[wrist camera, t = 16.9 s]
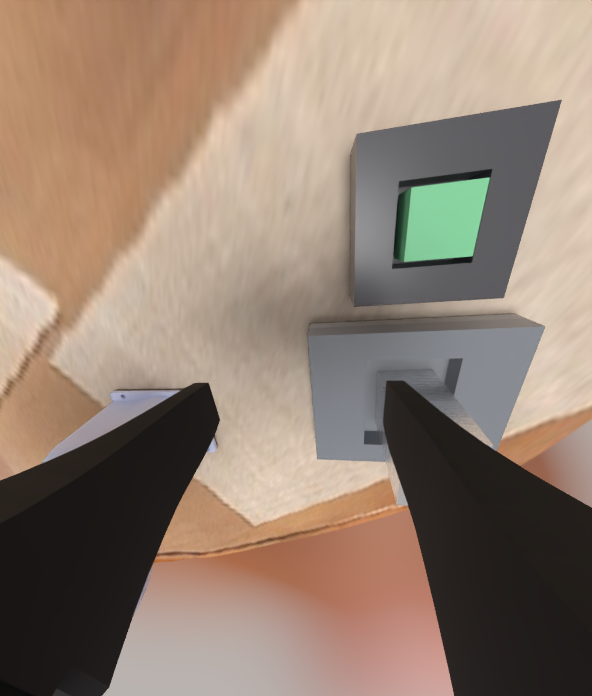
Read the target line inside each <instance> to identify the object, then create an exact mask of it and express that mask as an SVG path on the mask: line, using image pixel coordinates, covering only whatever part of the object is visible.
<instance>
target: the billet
mask: <svg viewBox="0 0 592 696" xmlns="http://www.w3.org/2000/svg"><path fill="white" fill-rule="evenodd" d="M386 381H405V382H406V383H407V384H409V385H410V386H411V387H412V388H413V389H415V390H416V391H417V392H418V393H419V394H421V395H422V396H423V397H424V398H425V399H427V400H428V401H429V402H430V403H431V404H433V405H434V406H435V407H436V408H438V409H439V410H440V411H441V412H443V413H444V414H445V415H446V416H448V417H449V418H450V419H452V420H453V421H454V422H456V423H457V424H458V425H460V426H461V427H462V428H464V429H465V430H466V431H468V432H469V433H471V434H472V435H473V436H475V437H476V438H478V439H479V440H480V441H482V442H483V443H485V444H486V445H488V446H489V447H491V448H493V444H492V443H491V442H490V440H489V439H488V438H487V437H486V435H485V434H484V433H483V432H482V430H481V429H480V428H479V427H478V425H477V424H476V423H475V422H474V420H473V419H472V418H471V417H470V415H469V414H468V413H467V411H466V410H465V409H464V408H463V406H462V405H461V404H460V403H459V401H458V400H457V399H456V398H455V396H454V395H453V394H452V393H451V391H450V390H449V389H448V388H447V386H446V385H445V384H444V383H443V381H442V380H441V379H440V378H439V376H438V375H437V374H436V373H435V371H434V370H433V369H418V370H389V371H377V378H376V403H375V423H376V427H377V431H378V435H379V439H380V442H381V446H382V450H383V454H384V458H385V462H386V465H387V469H388V473H389V477H390V481H391V485H392V488H393V492H394V496H395V500H396V504H397V505H404V506H408V504H407V501H406V498H405V495H404V492H403V489H402V486H401V483H400V481H399V478H398V475H397V472H396V469H395V466H394V463H393V460H392V457H391V454H390V451H389V448H388V444H387V440H386V435H385V430H384V426H383V414H384V403H385V392H386Z"/></svg>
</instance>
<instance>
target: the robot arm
mask: <svg viewBox="0 0 592 696" xmlns="http://www.w3.org/2000/svg"><path fill="white" fill-rule="evenodd" d="M110 397H111V399H112V401H113V402H112V403H110V404H109V405H108V406H107V407H105V408H104V409H103V410H101V411H100V412H99V413H98V414H96V415H95V416H94V417H92V418H91V419H90V420H89V421H87V422H86V423H85V424H83V425H82V426H81V427H80V428H78V429H77V430H76V431H74V432H73V433H72V434H70V435H69V436H68V437H67V438H65V439H64V440H63V441H61V442H60V443H59V444H58V445H57V446H56V447H54V448H53V449H52V450H51V451H50V453H49V454H48V455H47V456H46V458H45V459H44V461H43V462H42V464H40V465H37V466H35V467H33V468H30V469H28V470H26V471H23V472H21V473H19V474H16V475H14V476H11V477H9V478H6V479H3V480H1V481H0V696H102V695H103V694H104V693H105V691H106V690H107V689H108V688H109V686H110V683H111V680H112V677H113V674H114V670H115V667H116V664H117V661H118V658H119V655H120V653H121V650H122V647H123V644H124V641H125V638H126V635H127V632H128V629H129V626H130V623H131V620H132V617H133V616H134V614H135V612H136V610H137V608H138V606H139V604H140V602H141V600H142V598H143V595H144V593H145V591H146V588H147V586H148V582H149V579H150V576H151V571H152V565H153V562H154V560H155V557H156V555H157V552H158V550H159V547H160V545H161V542H162V540H163V538H164V535H165V533H166V531H167V528H168V526H169V524H170V522H171V519H172V517H173V515H174V512H175V510H176V508H177V506H178V504H179V502H180V500H181V498H182V496H183V494H184V492H185V491H186V489H187V487H188V485H189V483H190V481H191V480H192V478H193V476H194V474H195V472H196V470H197V469H198V467H199V465H200V463H201V461H202V459H203V458H204V456H205V454H206V452H215V451H216V450H217V445H216V442H215V439H214V435H215V432H216V430H217V427H218V424H219V421H220V418H219V415H218V412H217V409H216V405H215V402H214V399H213V396H212V392H211V389H210V386H209V383H194V384H192V385H190V386H188V387H186V388H184V389H183V390H144V391H113V392H112V393H110ZM383 426H384V430H385V435H386V440H387V444H388V448H389V451H390V454H391V457H392V460H393V463H394V466H395V469H396V472H397V475H398V478H399V481H400V483H401V486H402V489H403V492H404V495H405V498H406V501H407V504H408V507H409V509H410V512H411V516H412V519H413V522H414V526H415V529H416V533H417V537H418V541H419V545H420V549H421V553H422V557H423V561H424V565H425V569H426V573H427V577H428V581H429V586H430V590H431V594H432V598H433V602H434V606H435V610H436V615H437V620H438V624H439V628H440V633H441V637H442V642H443V646H444V650H445V655H446V660H447V664H448V668H449V673H450V677H451V683H452V687H453V692H454V696H592V508H591V507H589V506H588V505H585V504H584V503H582V502H581V501H579V500H577V499H575V498H573V497H572V496H570V495H568V494H566V493H565V492H563V491H561V490H559V489H558V488H556V487H554V486H552V485H550V484H549V483H547V482H545V481H543V480H542V479H540V478H539V477H537V476H535V475H533V474H532V473H530V472H528V471H527V470H525V469H523V468H522V467H520V466H519V465H517V464H516V463H514V462H513V461H511V460H509V459H508V458H506V457H505V456H503V455H501V454H500V453H498V452H497V451H495V450H494V449H492V448H491V447H489V446H488V445H486V444H485V443H483V442H482V441H480V440H479V439H478V438H476V437H475V436H473V435H472V434H471V433H469V432H468V431H466V430H465V429H464V428H462V427H461V426H460V425H458V424H457V423H456V422H454V421H453V420H452V419H450V418H449V417H448V416H446V415H445V414H444V413H443V412H441V411H440V410H439V409H438V408H436V407H435V406H434V405H433V404H431V403H430V402H429V401H428V400H427V399H425V398H424V397H423V396H422V395H421V394H419V393H418V392H417V391H416V390H415V389H413V388H412V387H411V386H410V385H409V384H407V383H406V382H405V381H386V392H385V403H384V414H383Z"/></svg>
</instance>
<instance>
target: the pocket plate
mask: <svg viewBox="0 0 592 696" xmlns="http://www.w3.org/2000/svg"><path fill="white" fill-rule="evenodd" d="M544 329H545V326H543V325H541V324H538V323H536V322H533V321H531V320H529V319H526V318H524V317H521V316H519V315H517V314H495V315H474V316H454V317H434V318H413V319H393V320H373V321H352V322H332V323H312V324H310V326H309V331H308V349H309V362H310V374H311V387H312V400H313V412H314V425H315V438H316V450H317V459H325V460H351V461H377V462H385V458H384V454H383V450H382V446H381V442H380V439H379V435H378V431H377V427H376V423H375V403H376V378H377V371H389V370H418V369H433V370H434V371H435V373H436V374H437V375H438V376H439V378H440V379H441V380H442V381H443V383H444V384H445V385H446V386H447V388H448V389H449V390H450V391H451V393H452V394H453V395H454V396H455V398H456V399H457V400H458V401H459V403H460V404H461V405H462V406H463V408H464V409H465V410H466V411H467V413H468V414H469V415H470V417H471V418H472V419H473V420H474V422H475V423H476V424H477V425H478V427H479V428H480V429H481V430H482V432H483V433H484V434H485V435H486V437H487V438H488V439H489V440H490V442H491V443H492V444H493V448H492V449H494V450H495V451H497V448H498V446H499V443H500V441H501V438H502V436H503V433H504V431H505V428H506V426H507V423H508V420H509V418H510V415H511V413H512V410H513V408H514V405H515V403H516V400H517V397H518V395H519V392H520V390H521V387H522V385H523V382H524V380H525V377H526V374H527V372H528V369H529V367H530V364H531V362H532V359H533V357H534V354H535V352H536V349H537V346H538V344H539V341H540V339H541V336H542V334H543V331H544Z"/></svg>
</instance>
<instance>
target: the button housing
mask: <svg viewBox="0 0 592 696" xmlns="http://www.w3.org/2000/svg"><path fill="white" fill-rule="evenodd" d="M561 101H562V100H558V101H552V102H546V103H540V104H534V105H528V106H522V107H516V108H510V109H504V110H498V111H492V112H486V113H480V114H474V115H468V116H462V117H456V118H450V119H444V120H438V121H432V122H426V123H420V124H414V125H408V126H402V127H396V128H390V129H384V130H378V131H372V132H366V133H360V134H356V138H355V141H354V145H353V148H352V151H351V155H350V297H351V300H352V302H353V305H354V307H358V306H375V305H392V304H409V303H426V302H443V301H460V300H478V299H495V298H504V295H505V292H506V288H507V285H508V282H509V278H510V275H511V271H512V268H513V264H514V261H515V258H516V254H517V251H518V247H519V244H520V241H521V237H522V234H523V230H524V227H525V224H526V220H527V217H528V213H529V210H530V206H531V203H532V200H533V196H534V193H535V189H536V186H537V183H538V179H539V176H540V172H541V169H542V166H543V162H544V159H545V155H546V152H547V148H548V145H549V142H550V138H551V135H552V131H553V128H554V125H555V121H556V118H557V114H558V111H559V108H560V104H561ZM489 177H490V179H489V184H488V189H487V193H486V198H485V202H484V207H483V211H482V216H481V221H480V225H479V230H478V234H477V239H476V243H475V248H474V253H473V256H470V257H458V258H446V259H434V260H422V261H410V262H403V261H400V260H397V259H394V252H395V240H396V228H397V215H398V203H399V194H401V193H403V192H405V191H406V190H408V189H410V188H412V187H419V186H427V185H435V184H442V183H450V182H458V181H466V180H474V179H481V178H489Z"/></svg>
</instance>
